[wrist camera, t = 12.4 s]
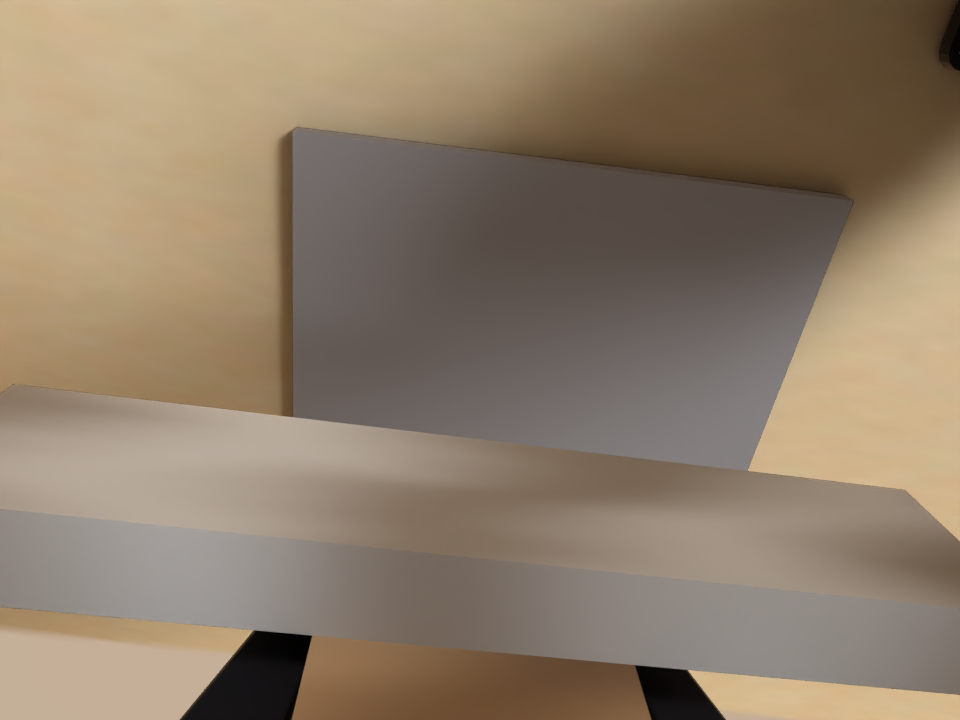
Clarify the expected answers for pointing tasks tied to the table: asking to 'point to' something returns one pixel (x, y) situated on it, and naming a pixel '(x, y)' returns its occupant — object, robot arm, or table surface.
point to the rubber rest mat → (547, 297)
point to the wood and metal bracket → (466, 559)
